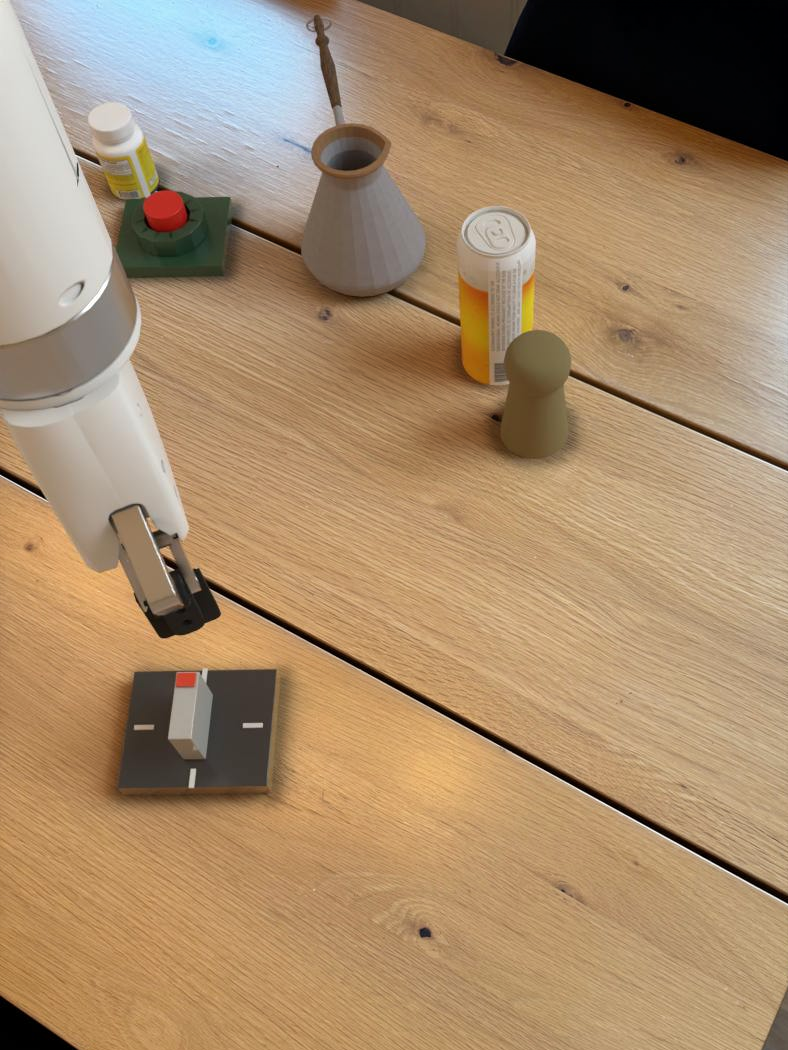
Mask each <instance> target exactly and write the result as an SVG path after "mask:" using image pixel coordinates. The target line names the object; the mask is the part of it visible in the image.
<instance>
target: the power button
mask: <svg viewBox="0 0 788 1050" xmlns="http://www.w3.org/2000/svg"><path fill="white" fill-rule="evenodd" d="M143 209H144V212H145V215H146V218H147V220H148V223H149V225H150V227H151V228H152V229H153V230H155V231H157V232H172V231H174V230H177V229H179V228H182V227H183V226H184V225H185V224H186V222H187V218H188V215H187V212H186V209H185V206H184V203H183V200H182V198H181V196H180V195H179V194H177V193H175V192H173V190H159V191H155V192H154V193H153V194H152V195H150V196H149V197H148V198H147V199H146V200H145V202H144V205H143Z"/></svg>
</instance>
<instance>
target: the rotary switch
mask: <svg viewBox="0 0 788 1050" xmlns="http://www.w3.org/2000/svg"><path fill="white" fill-rule="evenodd" d="M177 672H199V673H200V674H201V676H202V678H203V679H204V681H205V683H206V684H207V686H208V687H209V689H210V691H211V692H212V694H213V699H212V708H211V717H210V726H209V735H208V744H207V753H206V759H185V760H184V759H183V758H182V757H181V755H180V754H179V753H178V751H177V750H176V749H175V748H174V746H173V745H172V744H171V742H170V741H169V740H168V734H169V726H170V718H171V711H172V703H173V696H174V688H175V680H176V673H177ZM280 691H281V675H280V674H279V672H278V670H277V669H276V668H268V669H267V668H266V669H264V668H263V669H261V668H260V669H211V670H209V668H208V667H202V669H201V670H154V671H153V670H152V671H148V670H147V671H134V673H133V678H132V686H131V693H130V699H129V707H128V713H127V719H126V726H125V733H124V739H123V744H122V745H123V746H122V753H121V759H120V766H119V767H120V768H119V772H118V780H117V786H116V788H117V790H118V791H119V792H120V793H121V794H122V795H123V796H173V795H175V796H176V795H177V796H178V795H179V796H180V795H232V794H233V795H234V794H237V795H238V794H239V795H240V794H271V793H272V790H273V789H272V788H273V777H274V763H275V753H276V751H275V750H276V742H277V741H276V739H277V729H278V728H277V727H278V714H279V703H280Z"/></svg>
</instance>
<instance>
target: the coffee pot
mask: <svg viewBox="0 0 788 1050" xmlns="http://www.w3.org/2000/svg"><path fill="white" fill-rule="evenodd" d="M323 20H325V21H329V25H327V26H326V27H325V25H324V22H323ZM312 22H313V28H314V29H312V28H309V25H310V24H311V23H312ZM332 24H333V22H332V19H330V18H329V17H325V16H321V15H320V14H315V15H313V18H310V20H308V21H307V22H306V24H305V28H306V29H307V31H308V32H311V33H316V38H315V41H314V42H315V45H316V46H317V47H318V49H319V50H318V51H319V63H320V71H321V73H322V78H323V82H324V84H325V85H324V86H325V89H326V92H327V96H328V100H329V103H330V107H331V110H332V112H333V118H334V122H335V125H334V126H332V127H329V128H328V129H325V130H324V131H323V132H321V133H320V134H319V135H318V136H317V137H316V138H315V140H314V141H313V144H312V146H311V150H310V152H311V160H312V162H313V164H314V166H315V167H316V168H317V169H318V170H319V171H320V172H321V174H320V178H319V181H318V184H317V188H316V190H315V194H314V197H313V201H312V204H311V207H310V209H309V214H308V218H307V221H306V223H305V227H304V230H303V233H302V236H301V239H300V250H301V251H300V252H301V257H302V260H303V263H304V264H305V267H306V269H307V270H308V271H309V272H310V273H311V274H312V276H313V277H314V278H315V279H316V280H317V281H318V282H319V283H320V284H321V285H323V286H325V287H326V288H328V289H329V290H330V291H333V292H337V293H339V294H342V295H346V296H350V297H351V296H352V297H359V298H364V297H375V296H378V295H381V294H385V293H389V292H391V291H392V290H394V289H397V288H398V287H401V286H402V285H403V284H404V283H405V282H407V281H408V280H410V278H411V277H413V276H414V274H415V273H416V271H417V270H418V268H419V267H420V265H421V263H422V261H423V258H424V256H425V252H426V248H427V238H426V237H427V236H426V231H425V228H424V227H423V225H422V223H421V220H420V218H419V217H418V216H417V213H416V212H415V210H413V208H412V207H411V204H410V203H409V202H408V201H407V199H406V197H405V196H404V195H403V192H402V191H401V190H400V188H399V187H398V185H397V184H396V183H395V181H394V179H393V178H392V176H391V175H390V173H389V171H388V169H386V167H385V166H384V165H385V162H386V160H387V158H388V156H389V154H390V152H391V148H392V145H393V144H392V141H391V140H390V139H389V138H388V137H387V136H386V135H384V134H383V133H382V132H381V131H380V130H378V129H376V128H374V127H372V126H371V125H368V124H367V125H366V124H363V123H354V122H353V123H352V122H351V123H346V122H345V117H344V113H343V110H342V109H343V108H342V98H341V93H340V87H339V81H338V74H337V70H336V64H335V62H334V61H335V60H334V59H333V56H332V53H331V50H330V48H329V44H330V38H329V36H327V35H326V33H325V31H328V30H329V29H331V27H332Z"/></svg>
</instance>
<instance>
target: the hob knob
mask: <svg viewBox="0 0 788 1050" xmlns="http://www.w3.org/2000/svg"><path fill="white" fill-rule="evenodd" d="M212 699H213V694H212V692H211V691H210V689H209V687H208V686H207V684H206V683H205V681H204V679H203V678H202V676H201V674H200V673H199V672H177V673H176V680H175V688H174V696H173V703H172V711H171V718H170V726H169V734H168V740H169V741H170V742H171V744H172V745H173V746H174V748H175V749H176V750H177V751H178V753H179V754H180V755H181V757H182V758H183V759H184V760H185V759H206V753H207V744H208V735H209V726H210V717H211V708H212Z"/></svg>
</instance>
